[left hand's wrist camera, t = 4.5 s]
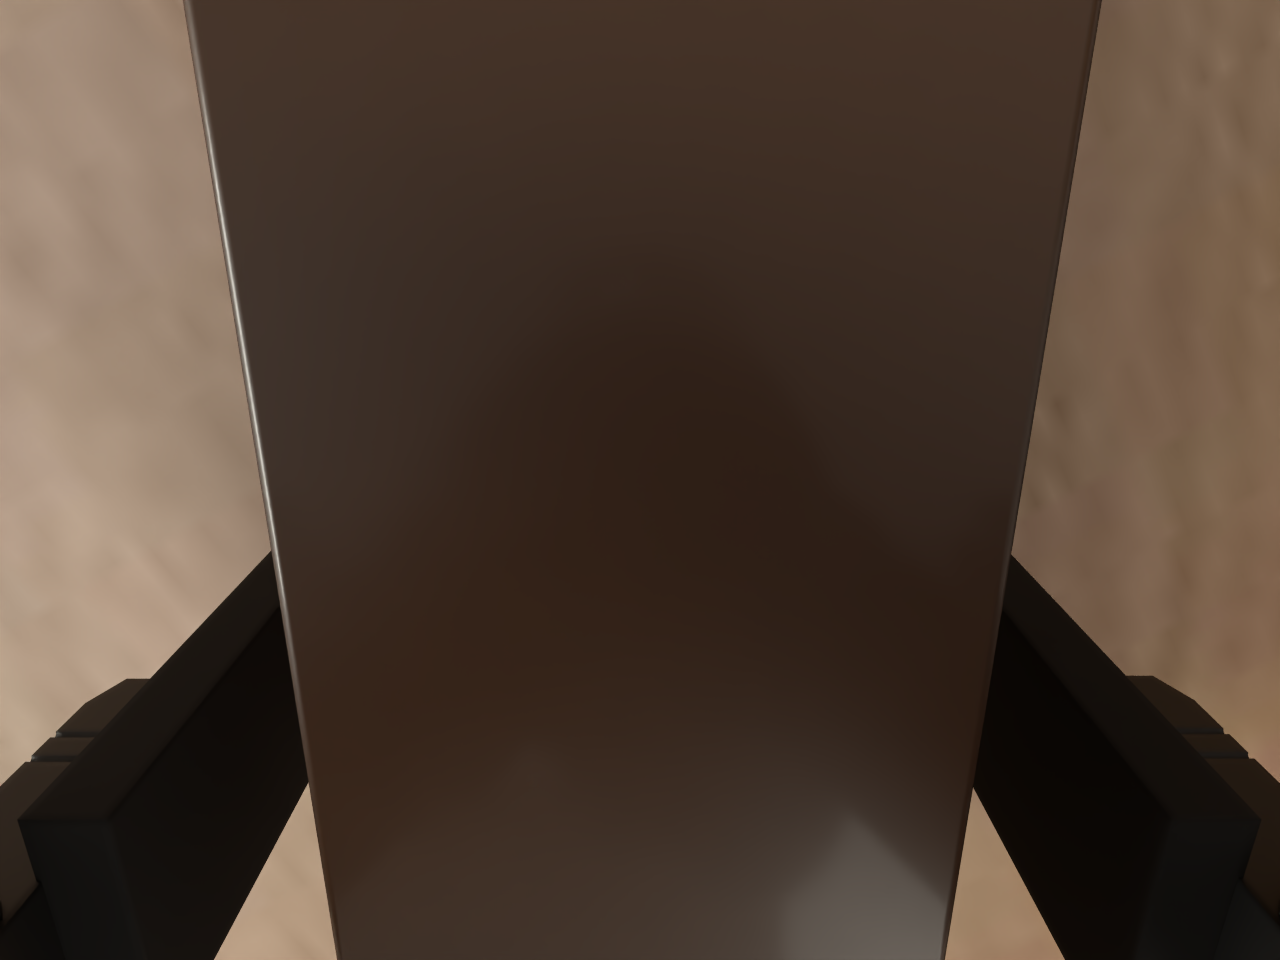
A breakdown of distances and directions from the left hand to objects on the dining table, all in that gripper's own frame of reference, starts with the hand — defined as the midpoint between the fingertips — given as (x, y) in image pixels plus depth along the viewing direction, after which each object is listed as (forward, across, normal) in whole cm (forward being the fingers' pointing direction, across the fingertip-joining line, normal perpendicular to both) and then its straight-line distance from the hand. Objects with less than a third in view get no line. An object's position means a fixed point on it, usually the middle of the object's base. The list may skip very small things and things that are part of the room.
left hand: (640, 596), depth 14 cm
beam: (0, 0, -9) cm, 9 cm away
